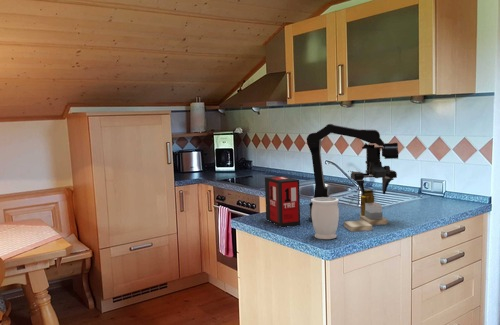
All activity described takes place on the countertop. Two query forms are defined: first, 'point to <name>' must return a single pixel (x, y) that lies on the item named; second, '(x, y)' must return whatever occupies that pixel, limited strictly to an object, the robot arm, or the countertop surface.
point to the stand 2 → (374, 221)
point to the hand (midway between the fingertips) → (373, 194)
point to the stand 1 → (357, 226)
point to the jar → (325, 217)
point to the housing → (373, 211)
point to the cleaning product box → (282, 200)
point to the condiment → (366, 200)
